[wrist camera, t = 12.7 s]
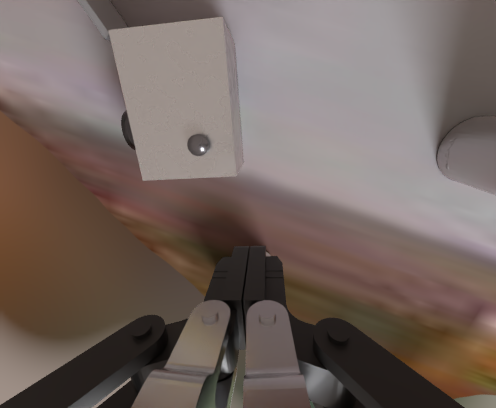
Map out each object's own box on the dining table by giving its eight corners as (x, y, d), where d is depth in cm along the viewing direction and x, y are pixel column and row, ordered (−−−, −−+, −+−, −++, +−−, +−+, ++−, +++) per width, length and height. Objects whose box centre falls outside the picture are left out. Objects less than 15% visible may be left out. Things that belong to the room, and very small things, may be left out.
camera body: (234, 42, 31) (220, 10, 22) (243, 162, 37) (235, 178, 27) (135, 52, 33) (82, 26, 23) (158, 167, 38) (123, 183, 29)
